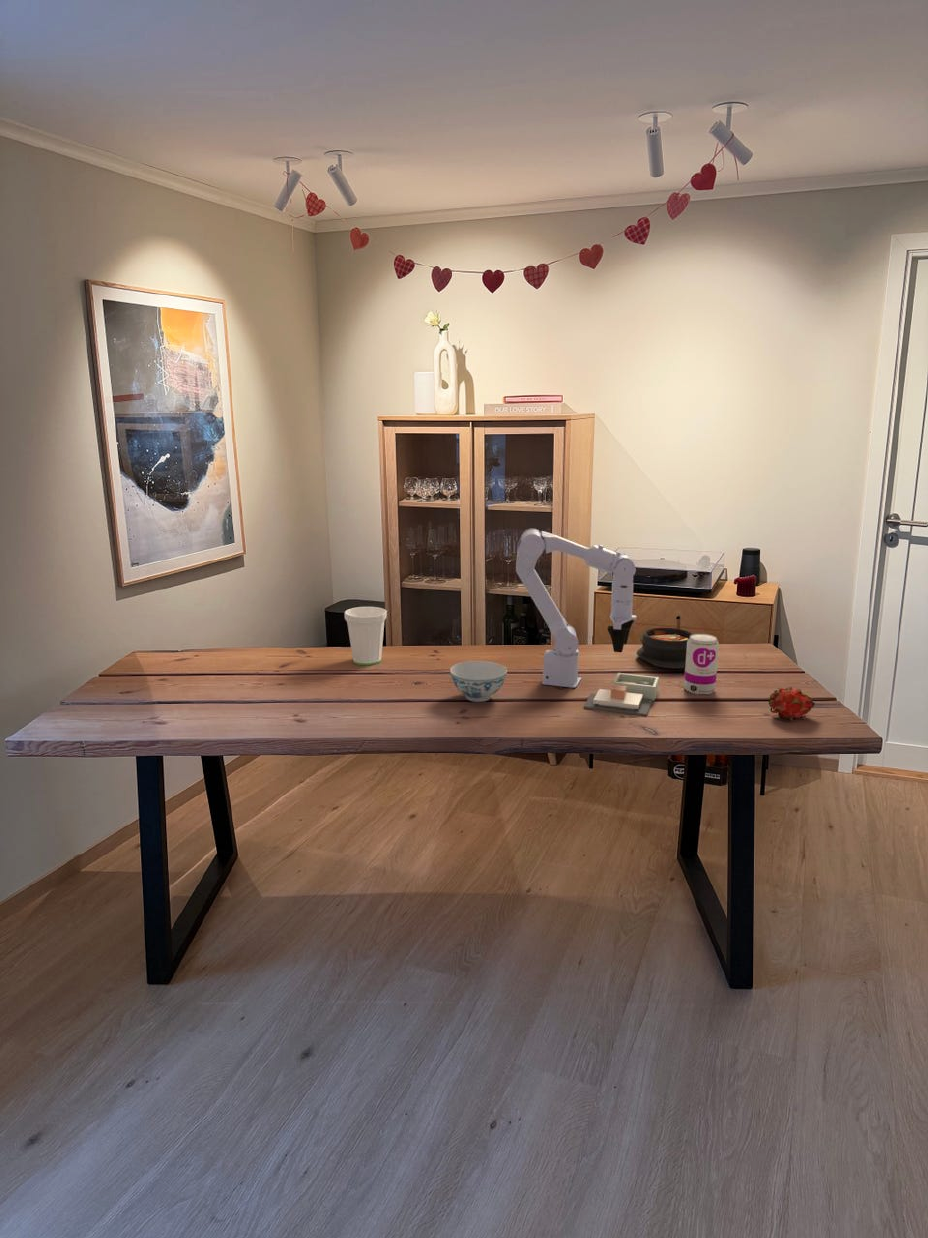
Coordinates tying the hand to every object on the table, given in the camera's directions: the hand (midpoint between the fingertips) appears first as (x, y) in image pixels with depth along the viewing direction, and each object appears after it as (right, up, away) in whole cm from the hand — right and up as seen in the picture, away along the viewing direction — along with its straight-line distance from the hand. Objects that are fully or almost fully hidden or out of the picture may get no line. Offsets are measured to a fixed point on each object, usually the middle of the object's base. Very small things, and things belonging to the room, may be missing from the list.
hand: (620, 647), depth 236 cm
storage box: (+3, -12, -5) cm, 14 cm away
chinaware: (-39, -13, -8) cm, 42 cm away
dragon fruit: (+39, -17, -20) cm, 47 cm away
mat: (-3, -14, -13) cm, 20 cm away
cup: (-72, -5, +22) cm, 75 cm away
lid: (-3, -14, -13) cm, 19 cm away
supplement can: (+21, -12, -2) cm, 24 cm away
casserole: (+18, -5, +23) cm, 30 cm away
